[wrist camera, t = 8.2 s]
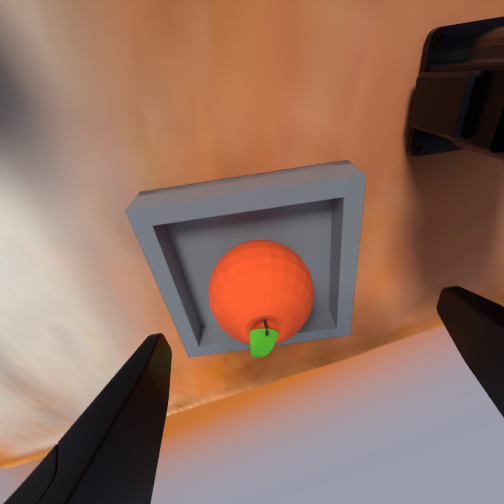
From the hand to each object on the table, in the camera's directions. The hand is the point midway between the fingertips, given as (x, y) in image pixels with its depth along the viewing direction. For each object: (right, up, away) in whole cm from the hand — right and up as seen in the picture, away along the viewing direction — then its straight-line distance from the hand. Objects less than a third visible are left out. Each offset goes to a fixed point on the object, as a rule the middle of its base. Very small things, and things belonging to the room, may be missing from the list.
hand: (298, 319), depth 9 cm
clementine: (-1, +1, +13) cm, 13 cm away
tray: (-1, +1, +13) cm, 13 cm away
